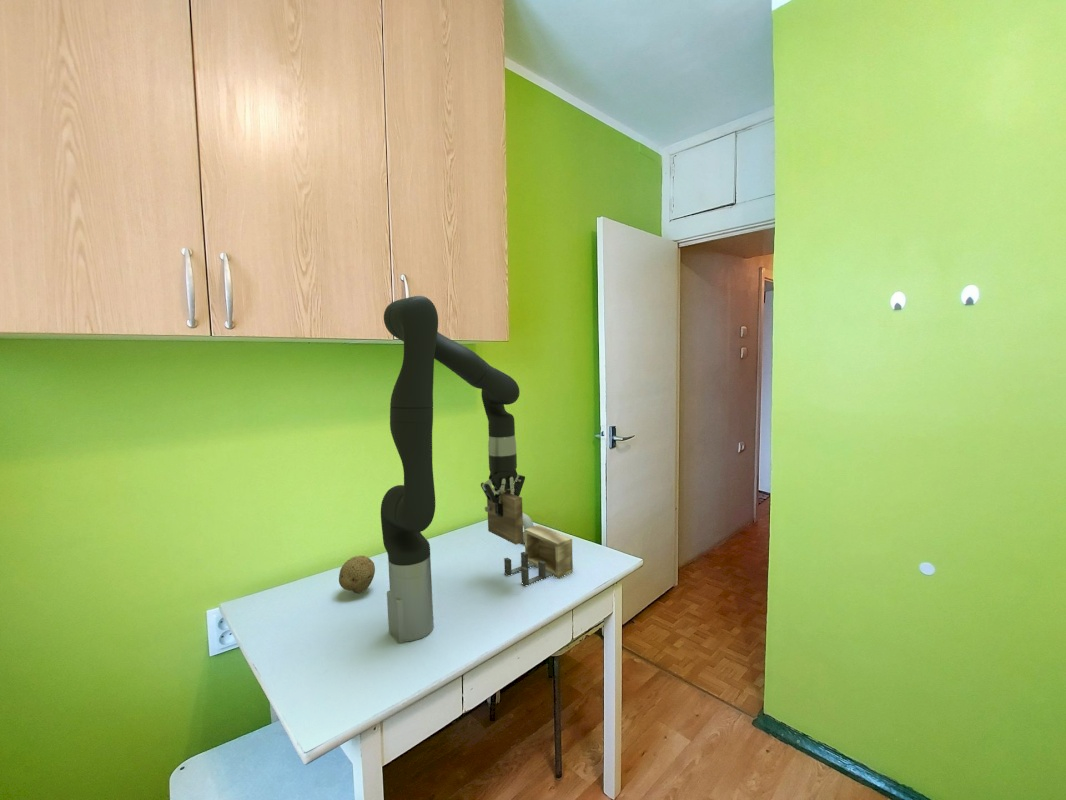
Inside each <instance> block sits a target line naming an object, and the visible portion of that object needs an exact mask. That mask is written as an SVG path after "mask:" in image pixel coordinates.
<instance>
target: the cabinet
mask: <svg viewBox="0 0 1066 800" xmlns="http://www.w3.org/2000/svg"><path fill="white" fill-rule="evenodd" d="M573 559H574V558H573V538H571V537H569V536H566V535H564V534H561V533H560V532H557V531H555V530H552V529H550V528H547V527H545V526H542V525H540V524H538V525H534V527H530V528H527V529H525V543H524V551H522V552H520V562H521V563H520V565H521V566H518V567H515V568H513V569H512V559H510V557H509V558H508V557H505V558H503V561H504V574H505V573H506V574H507V575H506V574H505V575H506V576H508V575H510V576H512V575H511V574H513V575H515V574H514V573H516V572H518V573H521V578H520V579H521V584H522V583H523V584H524V585H523V584H522V585H523V586H525V585H528V586H530V585H532V584H531V583H533V584H535V583H537V582H536V581H538V582H540V581H542V580H541V579H543V580H545V579H547V578H546V577H548V578H549V576H550V577H552V576H553V575H554V576H553V577H555V578H556V577H557V578H556V579H558V578H559V579H561V578H563V577H565V576H564V575H566V576H568V575H570V574H569V573H571V574H573V573H574V571H573V570H574V566H573V565H574V564H573V561H574V560H573ZM528 562H529V563H528ZM533 566H534V567H536V568H537V567H538V568H537V570H538V574H537V575H536V576H534V577H531V578H530V575H529V574H530V571H529V570H530V569H531V568H533ZM530 567H531V568H530ZM528 568H529V569H528ZM519 571H521V572H519ZM572 572H573V573H572ZM516 574H517V573H516ZM567 574H568V575H567ZM551 575H552V576H551ZM562 576H563V577H562ZM560 577H561V578H560ZM544 578H545V579H544ZM539 580H540V581H539ZM534 582H535V583H534ZM529 584H530V585H529Z"/></svg>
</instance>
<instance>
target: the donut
mask: <svg viewBox="0 0 1066 800" xmlns="http://www.w3.org/2000/svg"><path fill="white" fill-rule="evenodd" d="M534 526H535V525H534V521H533V520H532V519H531V517H530V516H529V515H528V514H527V513H525V512H523V542H522V543H524V544H525V529H527V528H530V527H534Z"/></svg>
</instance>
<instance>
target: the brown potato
mask: <svg viewBox="0 0 1066 800" xmlns="http://www.w3.org/2000/svg"><path fill="white" fill-rule="evenodd" d="M375 573H376V567H375V562H373V560H372V559H371V558H370V557H368V556H366V555H355V556H352V557H350V558H349V559H347V560H346V561H344V563H343V565H341V567H340V570H339V575H338V583H339V585H340V587H341V588H342V589H343V590H345V591H348V592H349V591H351V592H353V593H356V594H362V593H363V592H365V591H366V590H367V589H368V588H369V587H370V585H371V583H372V582H373V579H374V576H375Z"/></svg>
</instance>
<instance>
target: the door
mask: <svg viewBox="0 0 1066 800" xmlns="http://www.w3.org/2000/svg"><path fill="white" fill-rule="evenodd" d="M491 489H492V491H493V487H492V488H491ZM499 491H500V490H499ZM502 504H503V517H499V516H497V514H496V513H495V503H493V502H491V501H489V500H488V499H487V498H486V506H484V511H485V512H486V513H487V531H488V532H489V533H492V534H493V535H496V536H497V537H500V538H501V539H503V540H506V541H508V542H509V543H511V544H513V545H519V544H521V543H522V542H523V532H524V527H523V513H524V512H523V497H521V496H520V495H519V496H516V495H513V494H510V493H508V492H505V491H504V495H503V501H502Z"/></svg>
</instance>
